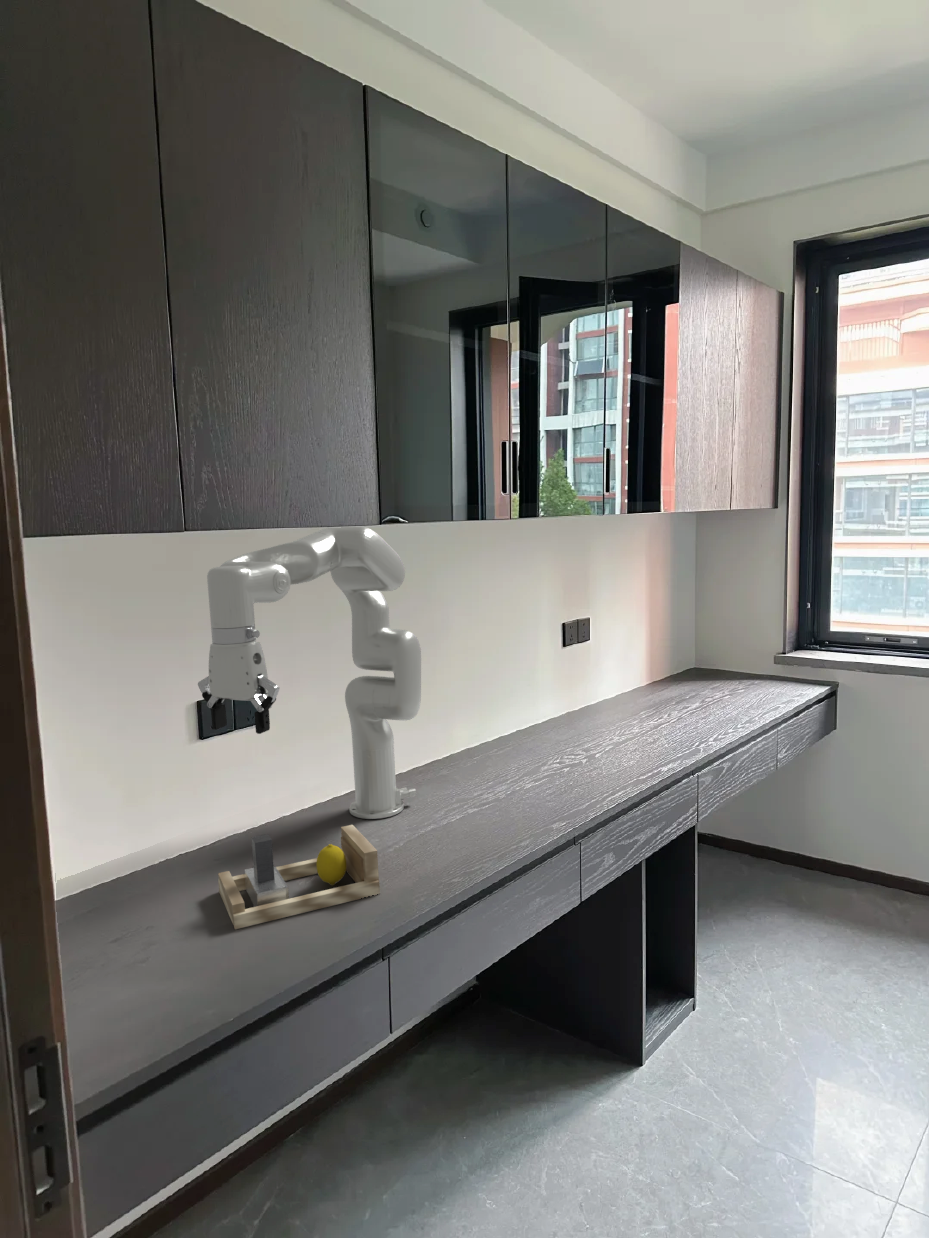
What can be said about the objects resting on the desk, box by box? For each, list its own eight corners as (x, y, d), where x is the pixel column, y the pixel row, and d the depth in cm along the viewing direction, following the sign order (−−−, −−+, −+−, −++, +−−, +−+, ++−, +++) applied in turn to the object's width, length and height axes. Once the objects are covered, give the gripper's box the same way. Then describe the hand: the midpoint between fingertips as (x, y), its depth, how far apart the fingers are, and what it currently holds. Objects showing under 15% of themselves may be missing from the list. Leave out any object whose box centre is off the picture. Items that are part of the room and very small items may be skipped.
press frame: (353, 861, 168) (351, 823, 167) (381, 893, 154) (378, 851, 153) (219, 891, 157) (215, 850, 156) (235, 929, 143) (231, 884, 142)
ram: (276, 883, 159) (271, 825, 158) (290, 907, 149) (285, 845, 148) (246, 890, 157) (241, 830, 155) (258, 914, 147) (253, 852, 145)
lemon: (333, 875, 162) (331, 836, 161) (353, 883, 159) (351, 842, 158) (311, 886, 158) (309, 845, 157) (331, 894, 154) (328, 852, 153)
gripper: (286, 634, 149) (293, 728, 152) (209, 631, 156) (217, 721, 159) (260, 640, 142) (267, 739, 145) (181, 637, 150) (189, 731, 152)
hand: (241, 729), depth 152 cm, fingers open, 9 cm apart
